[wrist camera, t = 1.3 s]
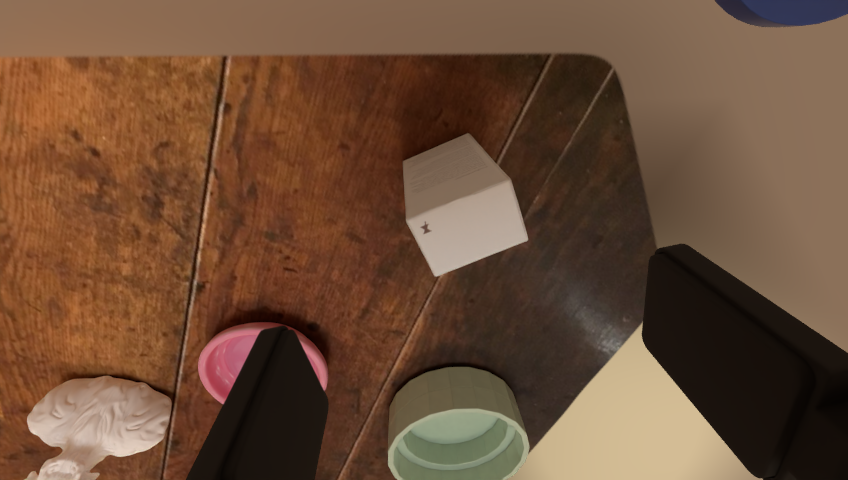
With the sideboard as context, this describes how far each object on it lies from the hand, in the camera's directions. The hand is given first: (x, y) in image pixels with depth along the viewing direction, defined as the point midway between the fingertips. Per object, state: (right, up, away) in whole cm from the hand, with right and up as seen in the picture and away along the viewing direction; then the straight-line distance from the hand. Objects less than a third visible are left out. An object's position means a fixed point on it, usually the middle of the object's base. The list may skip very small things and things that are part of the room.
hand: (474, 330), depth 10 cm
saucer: (-18, -10, +29) cm, 36 cm away
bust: (-35, -15, +31) cm, 49 cm away
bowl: (+2, -18, +35) cm, 39 cm away
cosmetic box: (0, +9, +21) cm, 23 cm away
